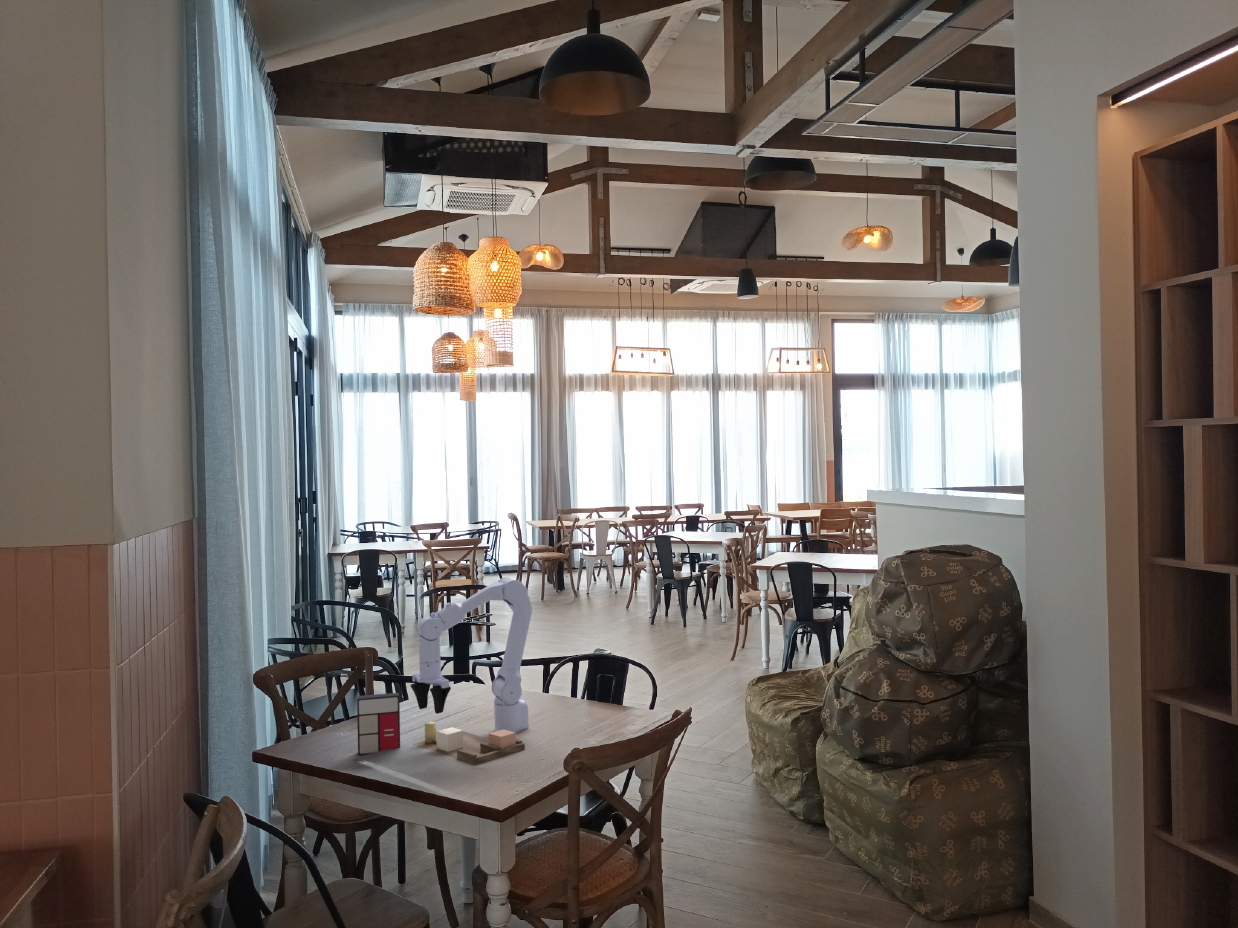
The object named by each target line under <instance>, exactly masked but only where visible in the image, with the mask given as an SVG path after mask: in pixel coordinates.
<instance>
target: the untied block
mask: <svg viewBox="0 0 1238 928" xmlns="http://www.w3.org/2000/svg"><path fill="white" fill-rule="evenodd" d="M516 734H517V732H512V731H508V730H504V729H503V730H499V731H496V732H495V731H493V732H490V733H488V739H489V744H490V745H493V746H497V747H500V749H503V748H507V747H510V746H513V745H516V739H517V737H516V736H517V735H516Z"/></svg>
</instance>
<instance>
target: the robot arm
mask: <svg viewBox="0 0 1238 928" xmlns="http://www.w3.org/2000/svg"><path fill="white" fill-rule="evenodd" d="M528 593H529V589H528V588H527V586H526V585H524V584H523V582H522V581H520V580H518V579H512V578H510V577H502V578H500V579H498V580H497V581H493V582H491V583H490V584H488V585H487V586H486V587H484V588H482V589H480V590H479V591H477V592H476V593H474V594H473V595H471V596H470V597H468V598H467V599H465V600H463V601H462V602H460V603H458V602H455V601H454V602H452V603H451V602H447V603H445V607H442V608H441V609H439V610H438V611H436V612H431V613H430V616H425V617H422V618H421V619H420V620H419V621H418V623H417V626H416V627H415V629H416V632H417V634H418V635H419V639H418V641H419V645H418V655H419V656H418V658H419V660H418V661H419V662H418V663H419V673H413V674H412V677H411V678H412V682H414V683H411V684H410V688H411V689H412V691H413V694H414V695H415V698H416V701H417V706H418V708H419V710H424V709H427V708H428V702H429V701H428V700H429V691H430V693H431V696H432V700H433V705H434V706H433V708H434V709H433V710H434V713H435V714H438V715H439V714H441V713H443V712H444V708H445V705H446V701H447V698H448V695H449V693H450V692H451V689H452V688H451V686H450V680H449V679H447V678H445V677H444V676H443V675H442V673H441V671H442V670H441V669H442V667H441V662H442V661H441V643H440V637H441V636H442V634H443V632H445V631H447V630H449V629H451V628H452V627H455V626H456V625H458V624H459V623H461V622H463V621H464V620H465V617H466V615H467V613H470V612H472V611H474V610H475V609H477V608H479V607H480V606H483V605H484V604H486V603H488V602H490V601H501V602H502V601H504V602H505V603H506V604H507V606H508V607H509V608H510V610H511V611H512V617H511V621H510V626H509V631H508V635H507V640H506V645H505V650H504V655H503V660H502V662H501V663H502V665H501V667H499V670H498V671H497V674H496V677H495V678H494V680H493V681H492V683H491V692H492V693H493V696H495V697H494V700H493V706H494V707H493V709H494V710H493V712H494V714H493V715H494V732H496V731H499V730H503V729H504V730H508V731H512V732H516V733H517V732H520V731H522V730H525V729H529V728H530V727H529V724H530V723H529V707H528V704H527V702H526V701H525V700H524V699H523V698H522V699H521V696H522V693H523V690H522V685H521V684H522V683H521V682H522V675H521V671H520V670H521V666H522V661H523V656H524V650H525V646H526V641H527V636H528V634H529V633H528V631H529V627H530V622H531V618H532V613H533V606H532V602H531V601H530V600H531V599H530V596H529V594H528ZM431 686H434V687H431ZM430 687H431V688H430Z"/></svg>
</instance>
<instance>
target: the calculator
mask: <svg viewBox="0 0 1238 928" xmlns="http://www.w3.org/2000/svg"><path fill="white" fill-rule="evenodd" d="M356 698H357V699H356V710H357V711H356V712H357V719H356V721H357V722H356V723H357V724H356V725H357V754H358V755H359V756H362V755H363V756H365V755H371V754H374V753H377V752H381V751H386V750H394V749H395V750H396V749H400V748H401V717H400V716H401V715H400V714H401V713H400V712H401V711H400V707H401V706H400V694H399V692H391V693H390V692H389V693H388V692H387V693H379V694H365V695H357V697H356Z"/></svg>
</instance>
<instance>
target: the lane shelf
mask: <svg viewBox="0 0 1238 928" xmlns="http://www.w3.org/2000/svg"><path fill="white" fill-rule="evenodd" d="M436 740H437V736H436ZM413 745H415V746H418V747H420V748H424V749H428V750H429V751H430V750H431V751H433V752H437V753H440V754H443V755H447V756H449V757H451V758H456V759H459V760H462V761H465V762H468V763H471V764H474V765H480V764H482V763H486V762H488V761H492V760H495V759H499V758H501V757H504V756H508V755H511V754H514V753H517V752H520V751H524V750H526V749H525V743H524V742H523V740H520V739H517V738H516V745H513V746H510V747H507V748H503V749H500V747H497V746H493V745H490V744H489V737H488V738H487V737H483V736H481V735H476V734H473V733H470V732H466V731H463V747H462V748H459V749H455V750H452V751H448V752H447V751H444V750H441V749H438V748H437V744H436V743H426V742H425V740H422V741H418V742H415V743H413Z"/></svg>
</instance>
